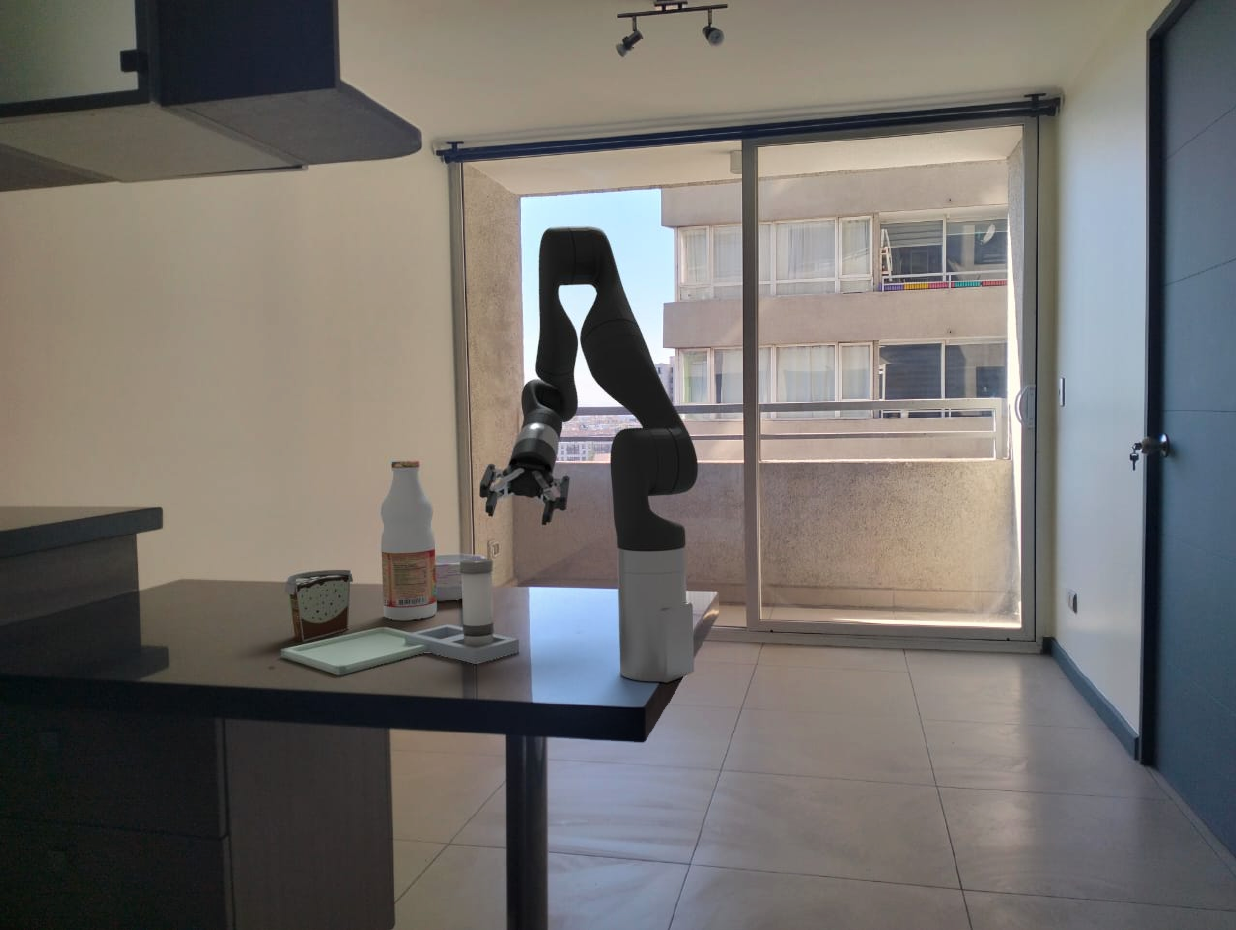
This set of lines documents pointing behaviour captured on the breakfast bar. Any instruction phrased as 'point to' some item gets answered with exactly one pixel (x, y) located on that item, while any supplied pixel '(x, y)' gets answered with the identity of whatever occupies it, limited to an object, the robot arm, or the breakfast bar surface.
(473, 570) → the grey-capped white cylinder
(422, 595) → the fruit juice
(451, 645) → the fuse block
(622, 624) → the robot arm
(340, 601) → the food container
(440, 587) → the paper bowls
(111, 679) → the breakfast bar surface
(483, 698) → the breakfast bar surface
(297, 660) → the tray
